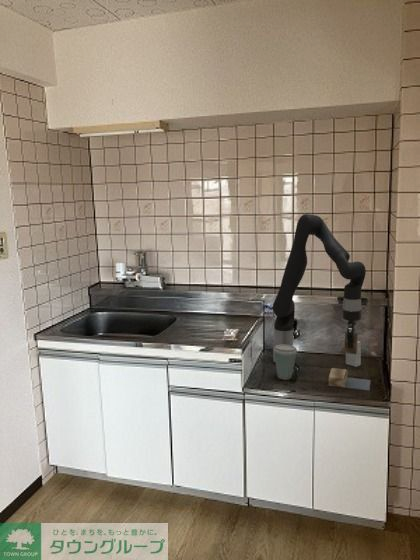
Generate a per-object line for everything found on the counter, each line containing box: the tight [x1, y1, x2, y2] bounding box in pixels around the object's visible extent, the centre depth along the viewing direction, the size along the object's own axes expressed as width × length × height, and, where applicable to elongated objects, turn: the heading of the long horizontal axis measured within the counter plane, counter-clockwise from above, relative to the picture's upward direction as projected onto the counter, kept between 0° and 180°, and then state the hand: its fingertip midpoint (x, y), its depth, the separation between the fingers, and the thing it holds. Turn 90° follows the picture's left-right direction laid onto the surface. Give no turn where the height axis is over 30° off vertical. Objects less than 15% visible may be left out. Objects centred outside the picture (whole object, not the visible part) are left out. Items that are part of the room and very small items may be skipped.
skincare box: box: [345, 340, 362, 368], centre depth 224 cm, size 6×4×12 cm
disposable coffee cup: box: [274, 344, 298, 381], centre depth 211 cm, size 11×11×15 cm
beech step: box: [328, 367, 349, 388], centre depth 206 cm, size 7×11×4 cm, turn 159°
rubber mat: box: [345, 376, 372, 392], centre depth 203 cm, size 10×11×1 cm
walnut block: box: [344, 328, 359, 354], centre depth 201 cm, size 5×4×10 cm
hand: (350, 346), depth 201 cm, fingers closed on walnut block, 4 cm apart
